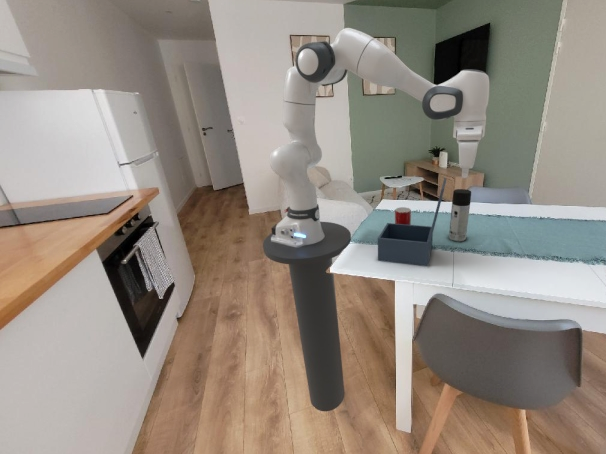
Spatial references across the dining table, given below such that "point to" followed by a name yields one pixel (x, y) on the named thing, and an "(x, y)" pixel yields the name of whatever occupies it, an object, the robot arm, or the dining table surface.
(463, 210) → the spray can
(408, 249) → the dark blue box
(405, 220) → the can
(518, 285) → the dining table surface
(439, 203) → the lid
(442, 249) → the dining table surface
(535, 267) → the dining table surface
